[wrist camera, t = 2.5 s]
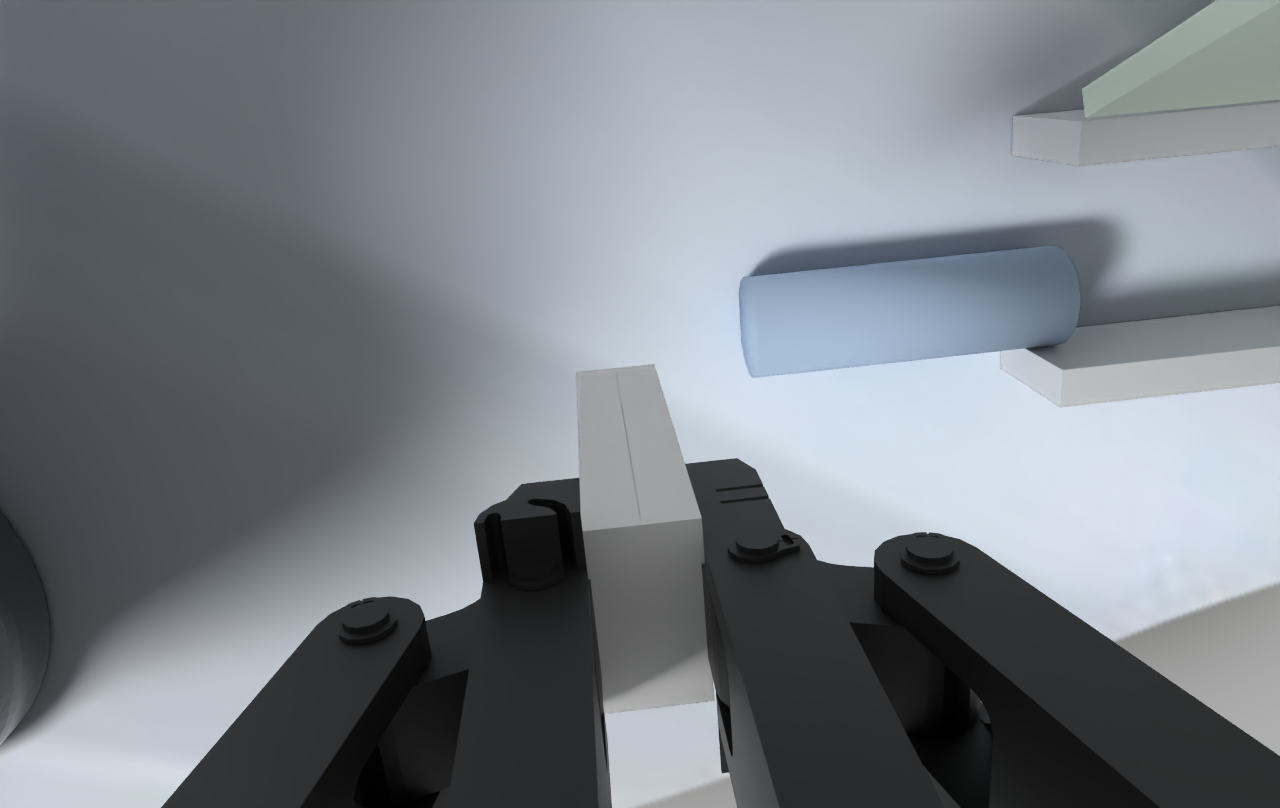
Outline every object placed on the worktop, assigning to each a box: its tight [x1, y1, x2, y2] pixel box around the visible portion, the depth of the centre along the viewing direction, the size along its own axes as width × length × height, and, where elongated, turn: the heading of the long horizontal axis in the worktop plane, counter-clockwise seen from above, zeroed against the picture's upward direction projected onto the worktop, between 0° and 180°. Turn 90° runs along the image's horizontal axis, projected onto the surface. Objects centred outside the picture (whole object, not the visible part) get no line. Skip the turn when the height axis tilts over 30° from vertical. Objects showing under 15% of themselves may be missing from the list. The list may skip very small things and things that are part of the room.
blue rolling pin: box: [739, 246, 1081, 378], centre depth 29 cm, size 10×3×3 cm
